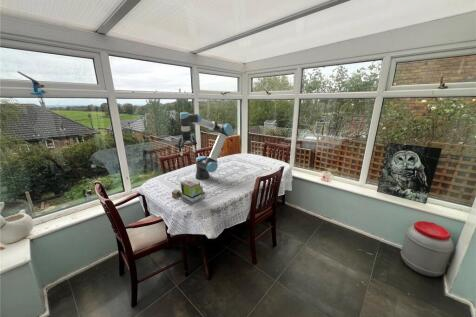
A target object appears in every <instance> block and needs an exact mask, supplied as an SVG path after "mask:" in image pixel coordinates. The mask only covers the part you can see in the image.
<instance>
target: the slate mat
mask: <svg viewBox="0 0 476 317" xmlns="http://www.w3.org/2000/svg"><path fill="white" fill-rule="evenodd" d="M205 198H206V196H205V195H203V194H201V198H200V199H198V200H196V201H194V202H191V201H189V200H187V199H186V198H184V197H181V198H180V201H182V202H184V203H186V204H187V205H189V206H192V205H194V204H195V203H198V202H200V201H202V200H204V199H205Z"/></svg>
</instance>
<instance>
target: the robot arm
mask: <svg viewBox="0 0 476 317" xmlns="http://www.w3.org/2000/svg"><path fill="white" fill-rule="evenodd" d="M179 120H180V127H181V129H180V130H181V136H179V137H178V142H177V146H176V149H178V152H179V155H180V156H181V157H183V156H184V155H183V146H184V144H185V143H186V142H190V143H191V145H192V153H196V146H197V145H198V143H197V140H196V138H195V136H194V135H193V134H191V124H194V125H196V126H197V125H198V126H200V127H203V128H206V129H209V130H210V131H212V132H215V133H217V137H216V140H215V142H214V144H213V147H212V149H211V151H210V153H209V156H208V155H207V156H206V155H202V156H198V157H196V158H195V163H196V165H195V167H196V172H195V174H194V175H195V179H197V180H206V179H209V178H210V173H214V172H216V171H217V169H218V167H219V165H218V157H219V155H220V153H221V150H222V149H223V146H224V144H225V141H226V139H228V138H229V136H231V135H232V134H233V130H234V129H233V126H232V125H231V124H230V123H228V122H226V123H225V122H218V121H210V120H207V119H204V118H202V115H201V114H200V113H189V112H187V111H186V112H180V113H179Z"/></svg>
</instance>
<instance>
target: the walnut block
mask: <svg viewBox="0 0 476 317" xmlns="http://www.w3.org/2000/svg"><path fill="white" fill-rule="evenodd" d="M180 191H181V190H180V189H174V190H173V191H171V197H172V198H176V199H178V198H180V196H181V195H180Z"/></svg>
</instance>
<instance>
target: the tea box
mask: <svg viewBox="0 0 476 317" xmlns="http://www.w3.org/2000/svg"><path fill="white" fill-rule="evenodd" d="M200 185H201V182H200V181H197V180H194V179H192V178H187V179H184V180H182V181H180V189H181V190H180V191H182V196H181V198H183V197H184V198H186V199H187V200H189V201H191V202H194V201H196V200H198V199H200V198H201V195H202V193H201V188H200Z"/></svg>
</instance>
